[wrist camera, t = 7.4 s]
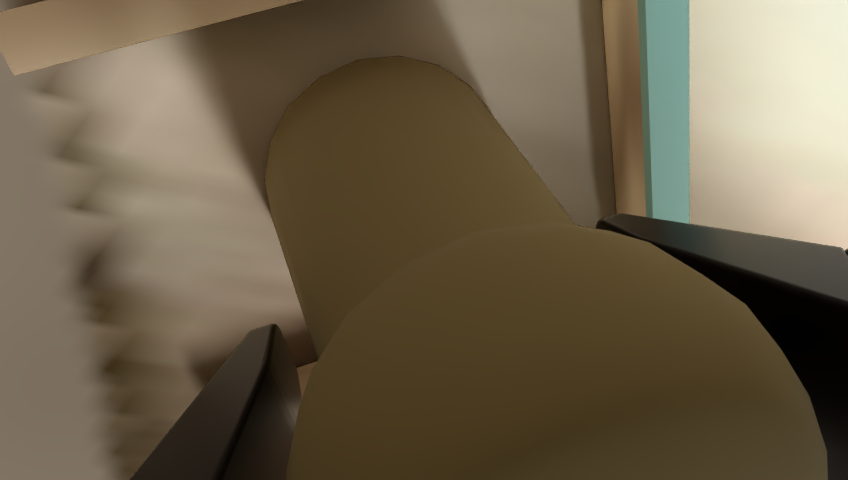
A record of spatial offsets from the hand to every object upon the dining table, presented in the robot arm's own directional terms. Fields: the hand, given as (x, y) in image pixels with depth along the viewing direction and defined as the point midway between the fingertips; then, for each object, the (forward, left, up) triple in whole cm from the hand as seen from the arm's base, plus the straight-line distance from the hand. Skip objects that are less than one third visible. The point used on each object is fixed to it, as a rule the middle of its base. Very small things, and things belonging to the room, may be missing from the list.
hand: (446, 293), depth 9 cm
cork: (0, 0, -6) cm, 6 cm away
